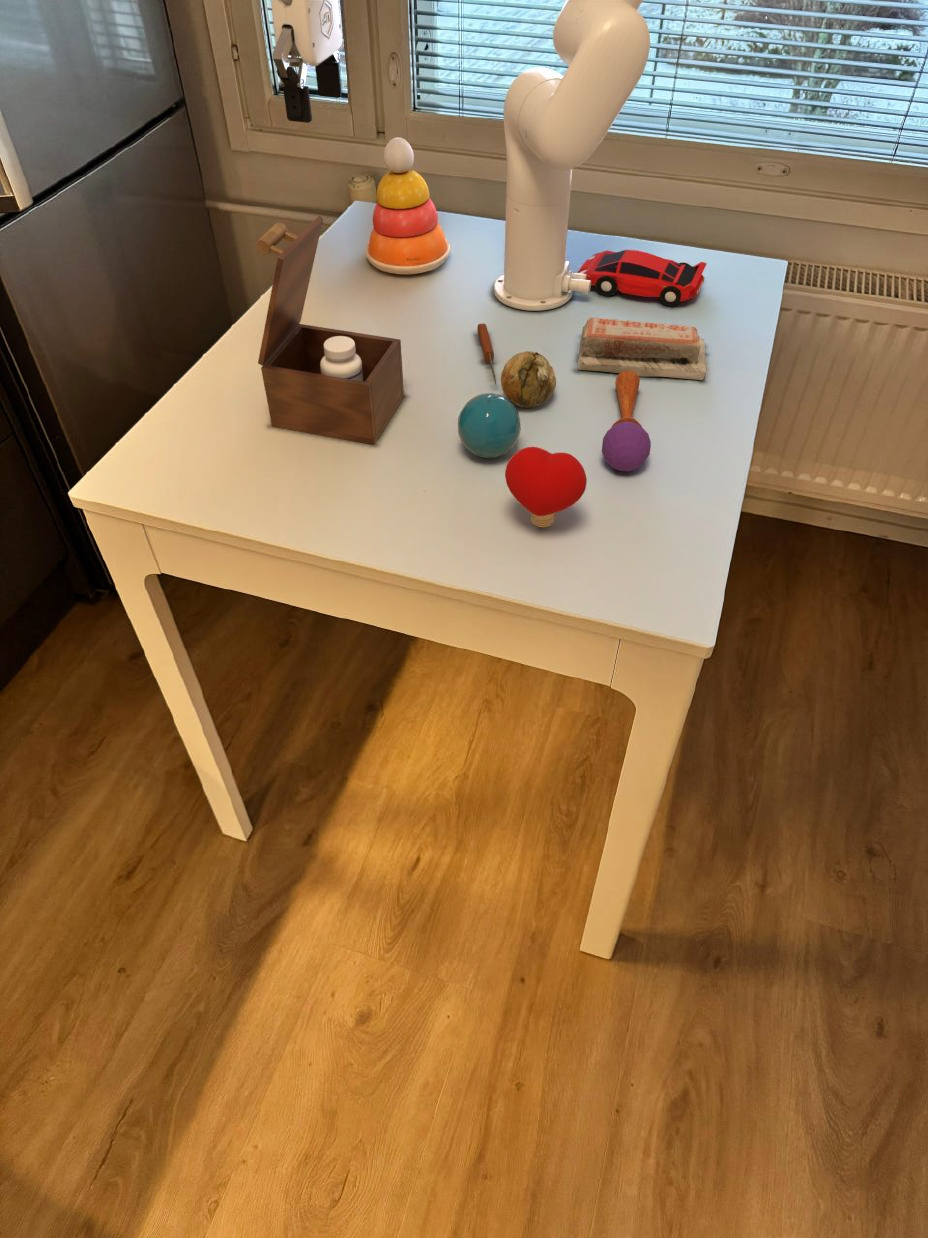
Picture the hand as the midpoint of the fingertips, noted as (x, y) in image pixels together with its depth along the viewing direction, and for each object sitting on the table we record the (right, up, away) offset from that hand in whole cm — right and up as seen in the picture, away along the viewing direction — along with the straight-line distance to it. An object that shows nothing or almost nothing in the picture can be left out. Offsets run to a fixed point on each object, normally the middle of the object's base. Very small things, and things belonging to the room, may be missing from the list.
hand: (315, 108), depth 118 cm
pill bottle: (+3, -38, +5) cm, 39 cm away
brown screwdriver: (+23, -29, +15) cm, 39 cm away
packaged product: (+45, -29, +15) cm, 55 cm away
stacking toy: (+10, -6, +37) cm, 38 cm away
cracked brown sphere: (+28, -36, +7) cm, 47 cm away
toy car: (+47, -13, +29) cm, 57 cm away
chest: (+2, -38, +6) cm, 39 cm away
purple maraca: (+40, -42, +2) cm, 58 cm away
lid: (-2, -26, -5) cm, 26 cm away
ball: (+22, -45, -1) cm, 50 cm away
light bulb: (+28, -55, -11) cm, 63 cm away
